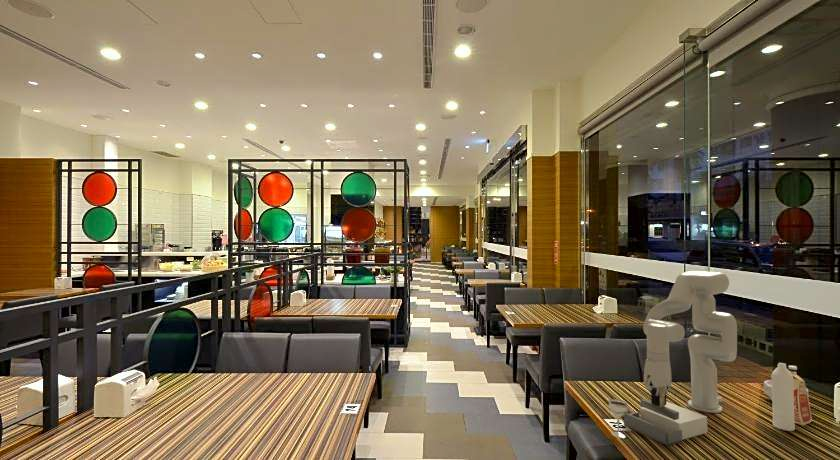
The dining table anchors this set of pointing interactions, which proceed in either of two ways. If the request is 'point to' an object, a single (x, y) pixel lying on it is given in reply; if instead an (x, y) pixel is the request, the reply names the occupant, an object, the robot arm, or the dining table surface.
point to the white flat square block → (677, 421)
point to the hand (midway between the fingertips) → (658, 404)
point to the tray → (652, 430)
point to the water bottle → (783, 397)
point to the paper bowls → (769, 388)
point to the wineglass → (618, 413)
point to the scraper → (661, 408)
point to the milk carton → (801, 401)
